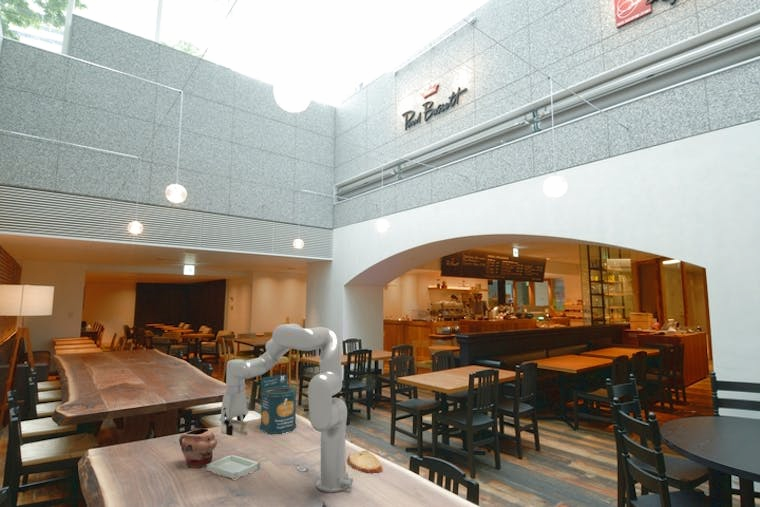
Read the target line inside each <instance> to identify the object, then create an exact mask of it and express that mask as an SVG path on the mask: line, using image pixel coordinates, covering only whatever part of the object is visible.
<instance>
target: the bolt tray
mask: <svg viewBox="0 0 760 507" xmlns="http://www.w3.org/2000/svg"><path fill="white" fill-rule="evenodd" d="M260 465H261V464H260V462H259V461H256V460H252V459H249V458H245V457H241V456H238V455H234V454H230V455H227V456H225V457H222V458H219V459H217V460H214V461H211V463H209V464H207V465H206V470H207V469H208V470H211V471H214V472H216V473H219V474H221V475H224V476H226V477H230V478H233V479H236V478H238V477H240V476H243V475H245V474H247V473H250V472H252V471H254V472H256V471H258V470H260V469H259V468H260V467H261V466H260ZM257 469H258V470H257ZM255 470H256V471H255ZM252 473H253V472H252ZM250 474H251V473H250ZM221 475H220V476H221ZM247 475H248V474H247ZM224 476H223V477H224ZM245 476H246V475H245ZM226 477H225V478H226ZM243 477H244V476H243Z"/></svg>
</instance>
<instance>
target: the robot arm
mask: <svg viewBox="0 0 760 507" xmlns="http://www.w3.org/2000/svg"><path fill="white" fill-rule="evenodd" d="M264 348H265V352H264V353H263V354H261V355H260V356H259V357H257V358H251V359H248V360H245V359H241V358H239V359H238V358H237V359H236V358H235V359H230V360H228V361H227V362H226V377H225V378H226V380H225V381H226V382H225V393H223V396H222V402H221V411H220V417H219V421H220V422H221V421H222V422H223V423H224V424H225V425H226V434H225V435H227V436H230V437H232V436H231V435H232V429H233V426H232V419H233V418H236V420H238V421H243V422H244V419H245V418H246V417H247V415H248V414H249V410H248V407H247V406H248V404H247V402H248V401H247V399H248V398H247V393H246V390H245V388H246V387H247V384H245V381H246V380H248V379H252V378H255V377H258V376H262V375H265V373H267V372H268V371H269V370H271V369H272V368H273V367H275V365H276V364H278V362H279V361H280V359H281V358H282V357H283V356H284V355H285V354H286V353H287V352H289V351H290V350H295V351H296V350H298V351H304V352H309V351H314V350H317V349H320V354H319V362H318V363H319V373H318V374H315V375H314V376H313V377H312V378H311V379H310V381H309V383H308V388H307V398H308V399H307V400H308V417H309V422H310V424H311V426H312V428H313V429H314V430H316V431H317V432H320V478H318V479H317V481H316V488H317V489H318V491H321V492H324V493H337V492H341V491H344V490H347V488H349V487H350V488H351V487H352V485H353V482H354V478H352V477H349V472H348V471H346V470H347V469H346V468H347V467H346V465H347V464H346V463H347V460H346V457H347V456H346V429H347V419H348V407H347V404H346V402H345V401H344V400H342V399H341V398H339V397H333V396H335V395H336V394H339V393H340V392H341V390H342V388H343V374H342V359H341V342H340V339H339V337H338V335H337V334H336V333H335V331H333V330H332V329H330V328H328V327H325V326H316V327H311V328H310V327H309V328H308V327H307V328H305V327H304V328H303V327H302V326H301V325H300V324H297V323H285V324H283V323H282V324H279V325H278V326H277V327H275V328H274V329H273V331H272V336H271V338H270V339H269V340H268V341H267V342H266V343H265V347H264Z"/></svg>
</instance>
